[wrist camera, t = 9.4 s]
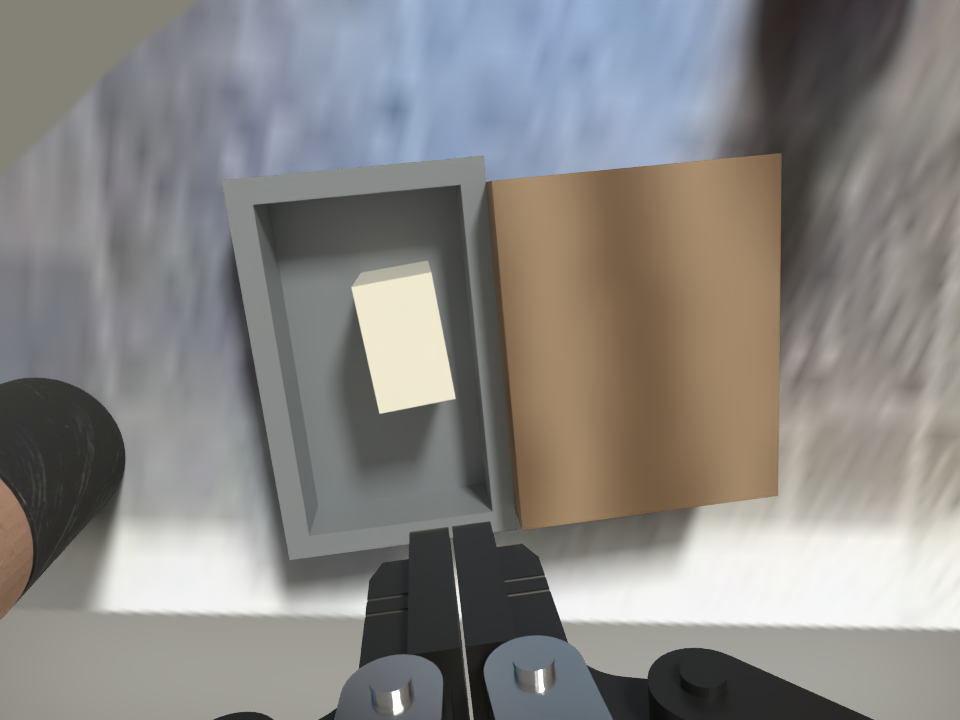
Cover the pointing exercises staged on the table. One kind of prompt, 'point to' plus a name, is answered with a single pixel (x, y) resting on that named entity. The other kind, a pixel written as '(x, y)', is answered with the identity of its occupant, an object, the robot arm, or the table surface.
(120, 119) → the table surface
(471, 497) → the box
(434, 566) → the robot arm
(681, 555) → the table surface
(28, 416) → the travel mug
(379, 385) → the cream square block
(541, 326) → the ledge
